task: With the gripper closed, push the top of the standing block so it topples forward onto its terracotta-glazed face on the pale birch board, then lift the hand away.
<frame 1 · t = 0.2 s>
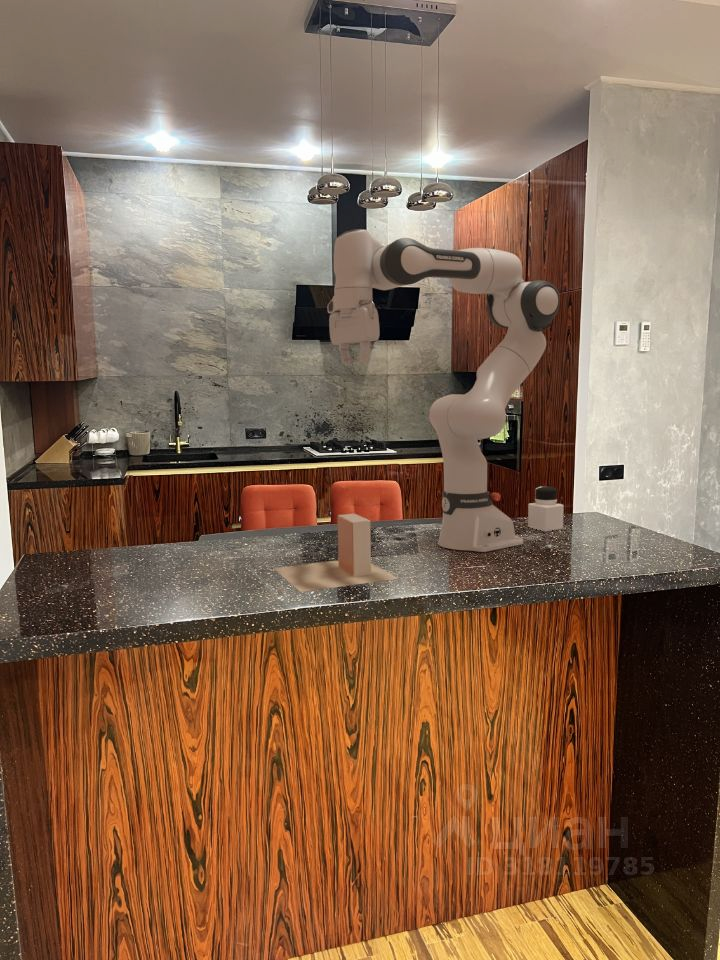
hand: (354, 363, 165), 47 cm above the countertop, fingers open, 8 cm apart
block: (354, 570, 157), point 1 cm above the countertop, touching board
board: (333, 577, 155), on the countertop
medicine bottle: (545, 529, 202), on the countertop
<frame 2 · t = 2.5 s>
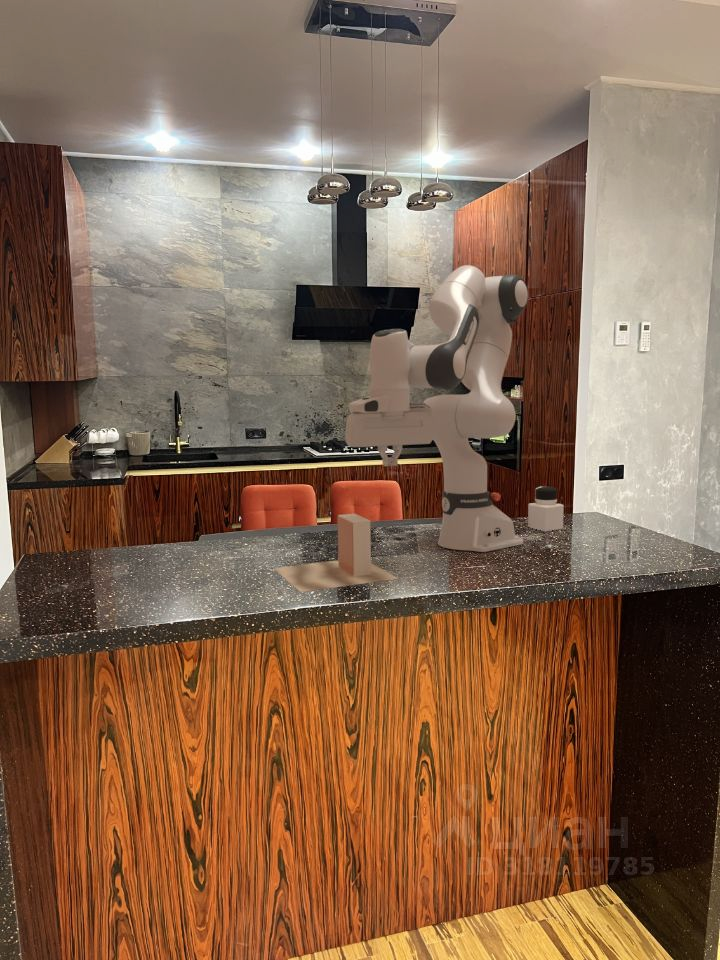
hand: (390, 465, 157), 24 cm above the countertop, fingers closed
nothing on the countertop moved.
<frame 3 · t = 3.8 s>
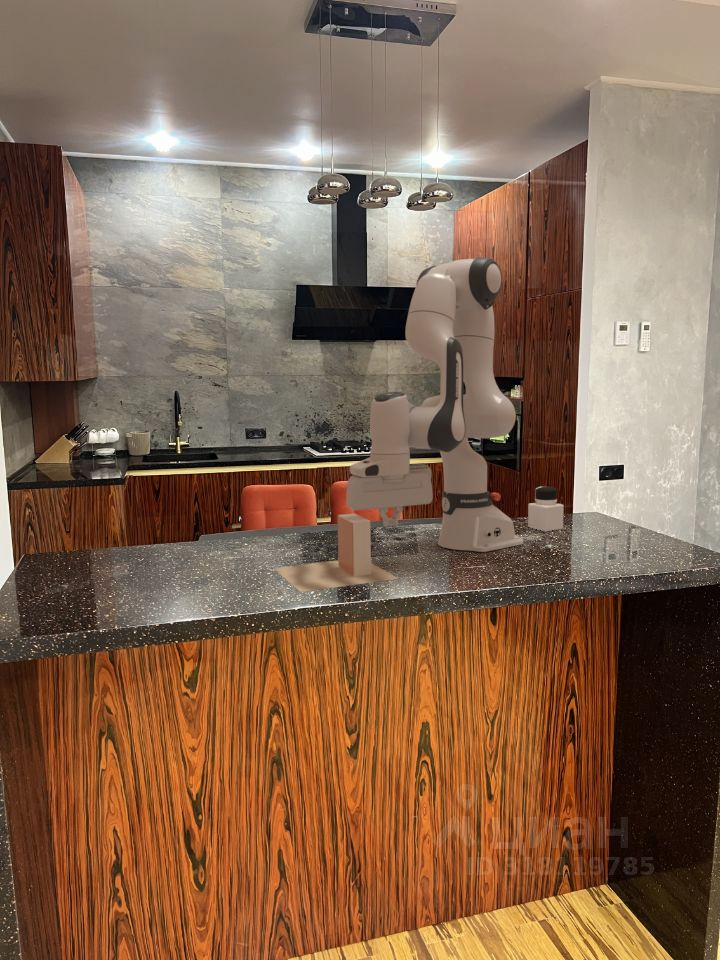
hand: (390, 526, 159), 10 cm above the countertop, fingers closed
nothing on the countertop moved.
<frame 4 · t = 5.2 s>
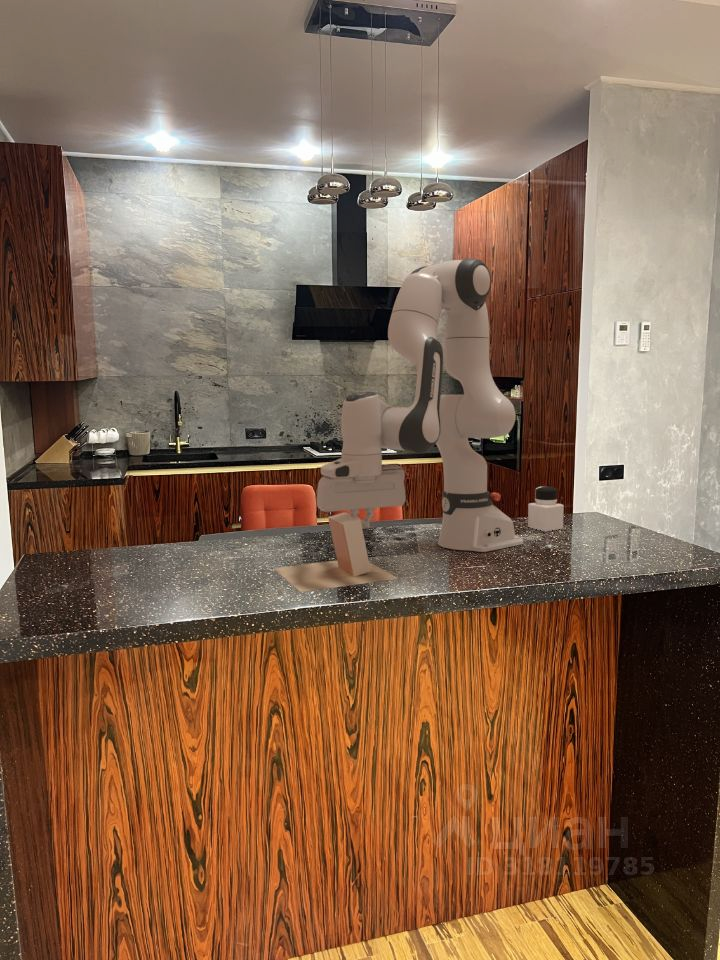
hand: (362, 528, 156), 10 cm above the countertop, fingers closed
block: (354, 568, 157), point 1 cm above the countertop, tilted 11°, touching board
everything else where it was.
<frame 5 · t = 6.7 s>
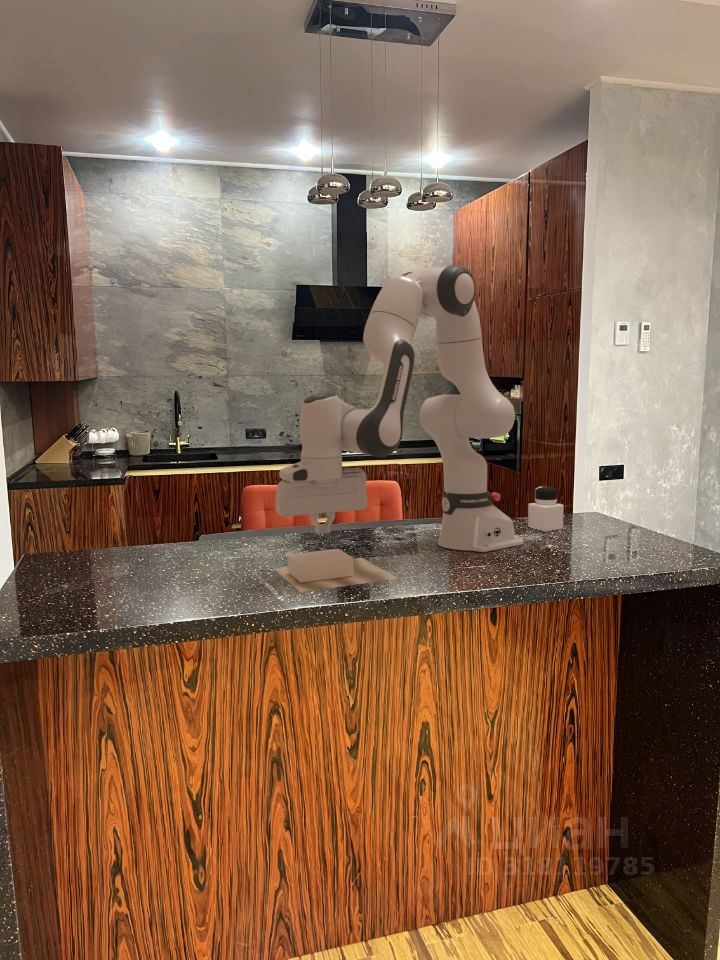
hand: (322, 533, 153), 10 cm above the countertop, fingers closed
block: (345, 561, 156), point 3 cm above the countertop, tilted 90°, touching board
everything else where it was.
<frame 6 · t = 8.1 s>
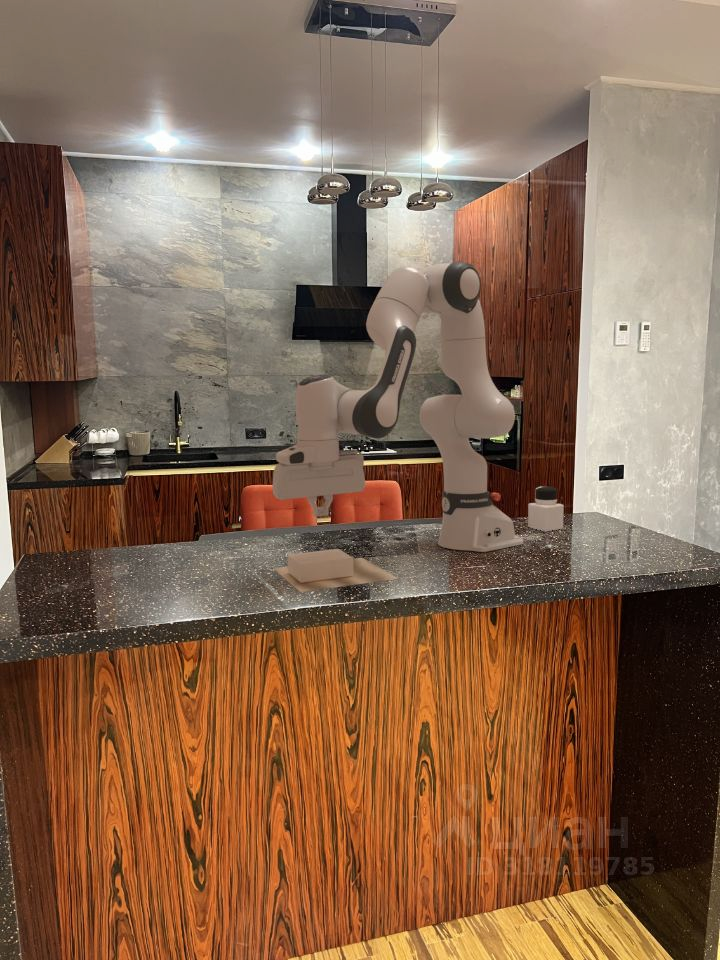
hand: (320, 515, 152), 14 cm above the countertop, fingers closed
nothing on the countertop moved.
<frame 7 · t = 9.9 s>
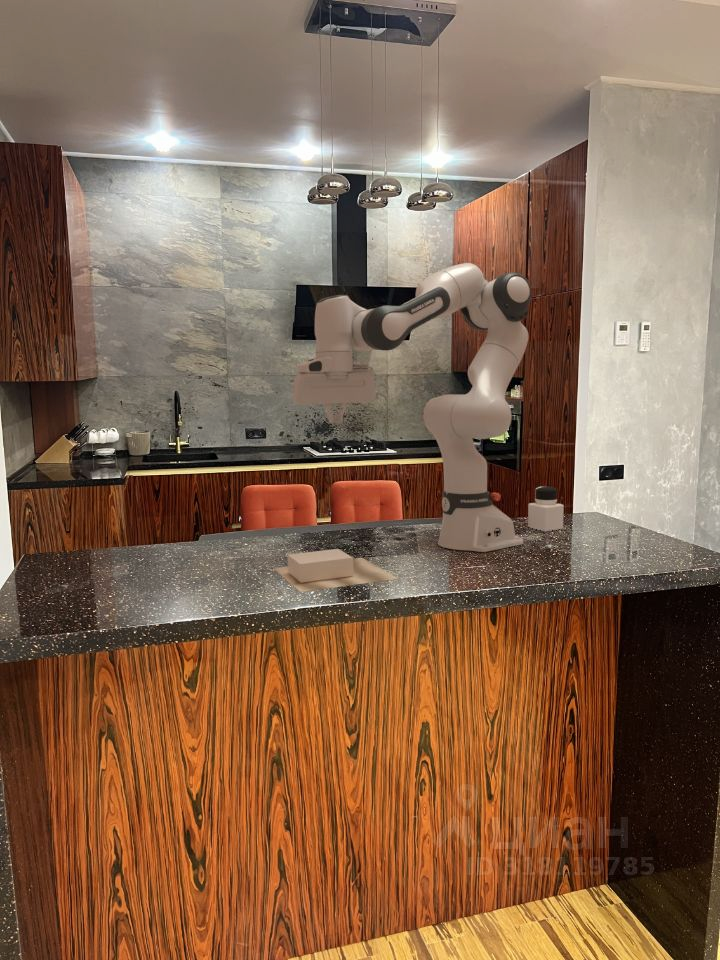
hand: (335, 422, 170), 33 cm above the countertop, fingers closed
nothing on the countertop moved.
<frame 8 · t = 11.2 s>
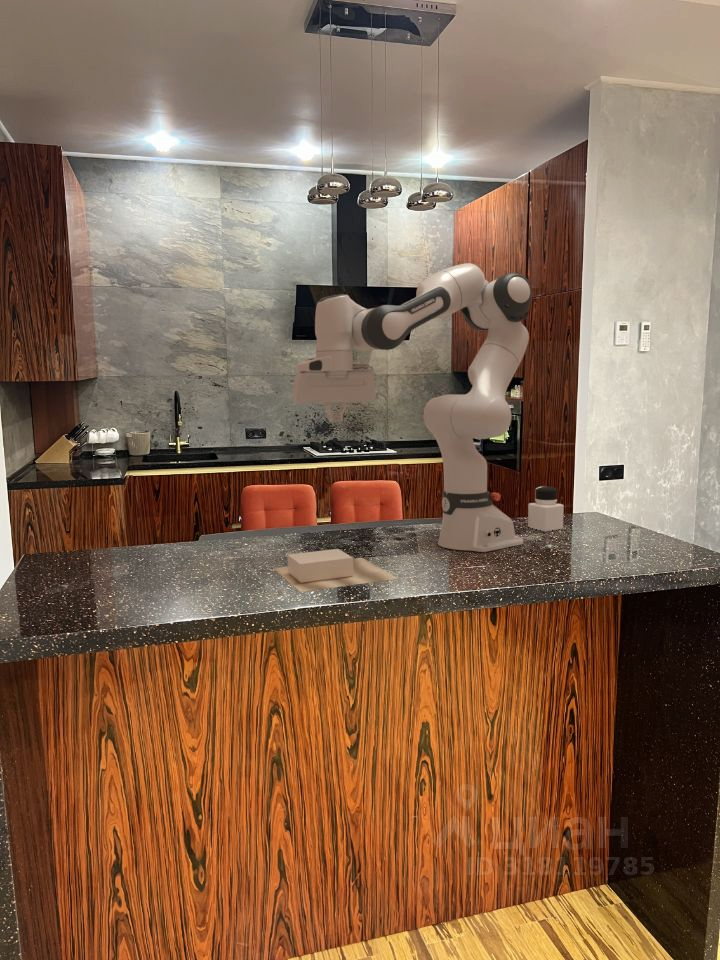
hand: (335, 422, 170), 33 cm above the countertop, fingers closed
nothing on the countertop moved.
at the end: block tilted 90°; block inside the target area on the board (1.3 cm from its centre), point 3.2 cm above the board's base; block touching board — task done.
